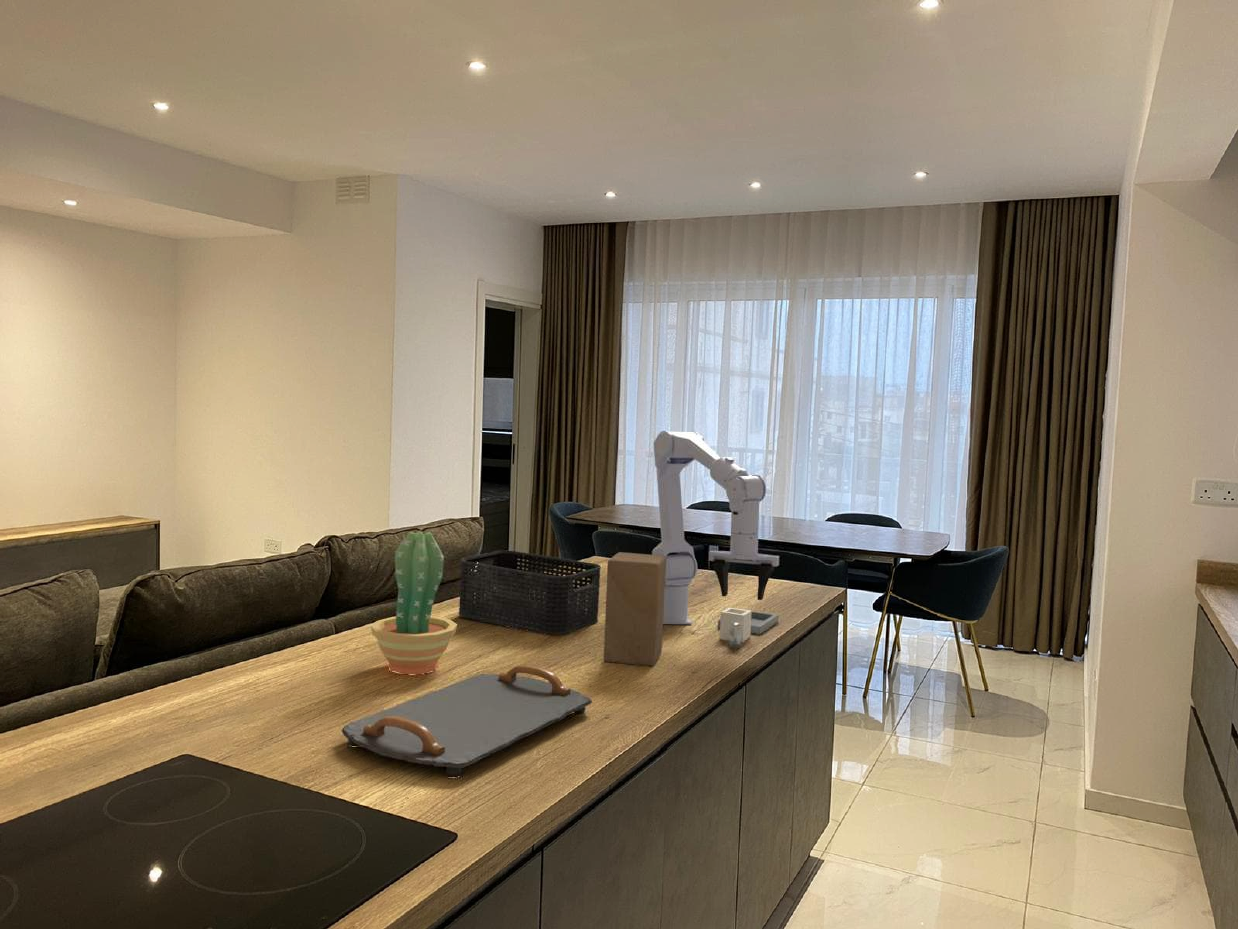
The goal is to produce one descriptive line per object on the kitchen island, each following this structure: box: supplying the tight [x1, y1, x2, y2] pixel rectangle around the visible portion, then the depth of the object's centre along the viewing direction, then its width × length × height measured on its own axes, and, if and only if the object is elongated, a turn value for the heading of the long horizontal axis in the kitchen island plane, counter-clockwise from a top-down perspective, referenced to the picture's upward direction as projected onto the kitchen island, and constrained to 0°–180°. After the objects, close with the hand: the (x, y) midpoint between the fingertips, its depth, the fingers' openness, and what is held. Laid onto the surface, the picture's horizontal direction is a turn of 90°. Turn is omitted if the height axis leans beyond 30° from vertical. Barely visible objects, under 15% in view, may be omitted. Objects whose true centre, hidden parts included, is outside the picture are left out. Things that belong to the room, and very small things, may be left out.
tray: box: [717, 608, 779, 635], centre depth 210 cm, size 14×10×2 cm
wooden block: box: [603, 551, 666, 667], centre depth 179 cm, size 10×10×20 cm
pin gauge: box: [728, 622, 742, 649], centre depth 191 cm, size 2×2×5 cm
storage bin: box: [458, 550, 602, 636], centre depth 207 cm, size 29×19×13 cm
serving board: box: [341, 664, 593, 778], centre depth 138 cm, size 39×23×6 cm, turn 150°
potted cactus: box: [370, 530, 458, 674], centre depth 165 cm, size 15×15×25 cm
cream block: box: [719, 607, 753, 644], centre depth 198 cm, size 5×5×6 cm
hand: (742, 597), depth 190 cm, fingers open, 7 cm apart
